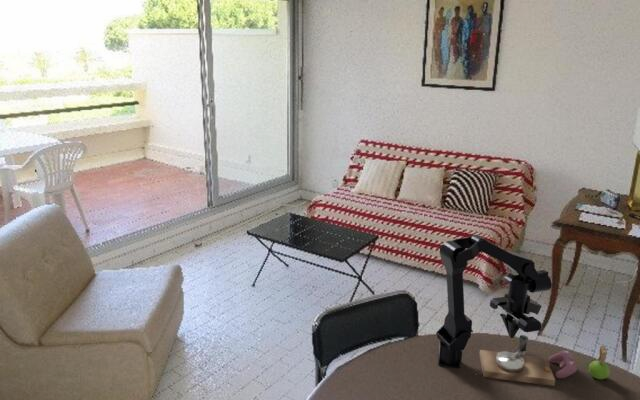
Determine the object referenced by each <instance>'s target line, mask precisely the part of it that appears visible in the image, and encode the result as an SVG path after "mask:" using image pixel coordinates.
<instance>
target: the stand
mask: <svg viewBox="0 0 640 400" xmlns="http://www.w3.org/2000/svg"><path fill="white" fill-rule="evenodd" d="M499 352H500V351H494V350H493V351H492V350H487V349H486V350H485V349H480V350H479V355H478V356H479V359H480V360H479V361H480V365H481V366H480V367H481V370H482V371H481V372H482V376H483V377H484V378H490V379H498V380H506V381H512V382H519V383H520V382H522V383H529V384H536V385H544V386H552V387H555V385H556V378H555V376H554V374H553V373H554V372H553V371H552V369H551V367H550V364H549V361H548V360H547V359H548V358H547V357H542V356H536V355H535V356H534V355H526V354H524V355H523V356H522V358H523V359H524V368H523V370H522V371H519V372H510V371H506V370H504V369H502V368H500V367H499V366H498V365H497V364H496V357H497V354H498V353H499Z"/></svg>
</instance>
